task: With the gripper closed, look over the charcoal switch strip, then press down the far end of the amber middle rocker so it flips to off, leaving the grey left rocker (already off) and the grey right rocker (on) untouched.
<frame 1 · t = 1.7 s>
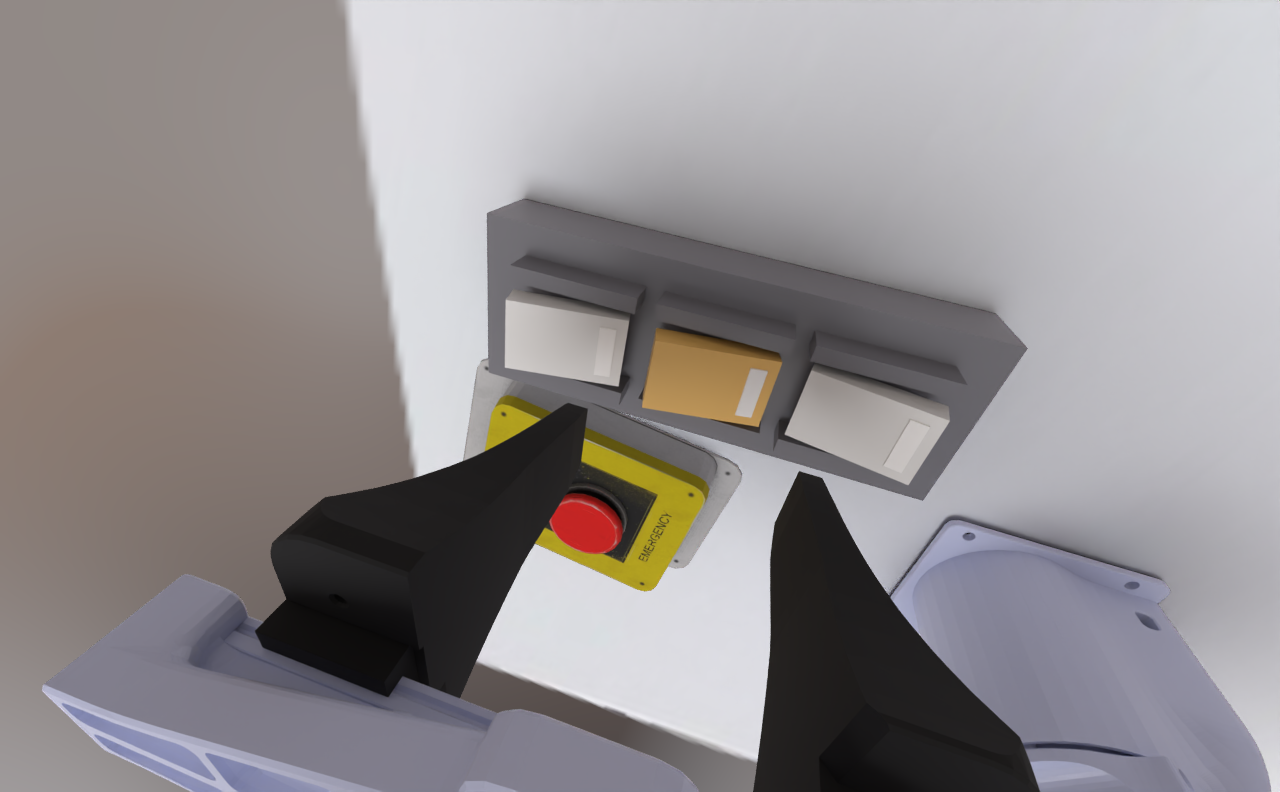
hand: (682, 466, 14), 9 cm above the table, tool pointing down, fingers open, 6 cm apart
switch strip: (722, 331, 21), on the table
emergency button: (594, 463, 28), on the table
rocker amber: (708, 379, 18), point 4 cm above the table, hinge at -12.0°
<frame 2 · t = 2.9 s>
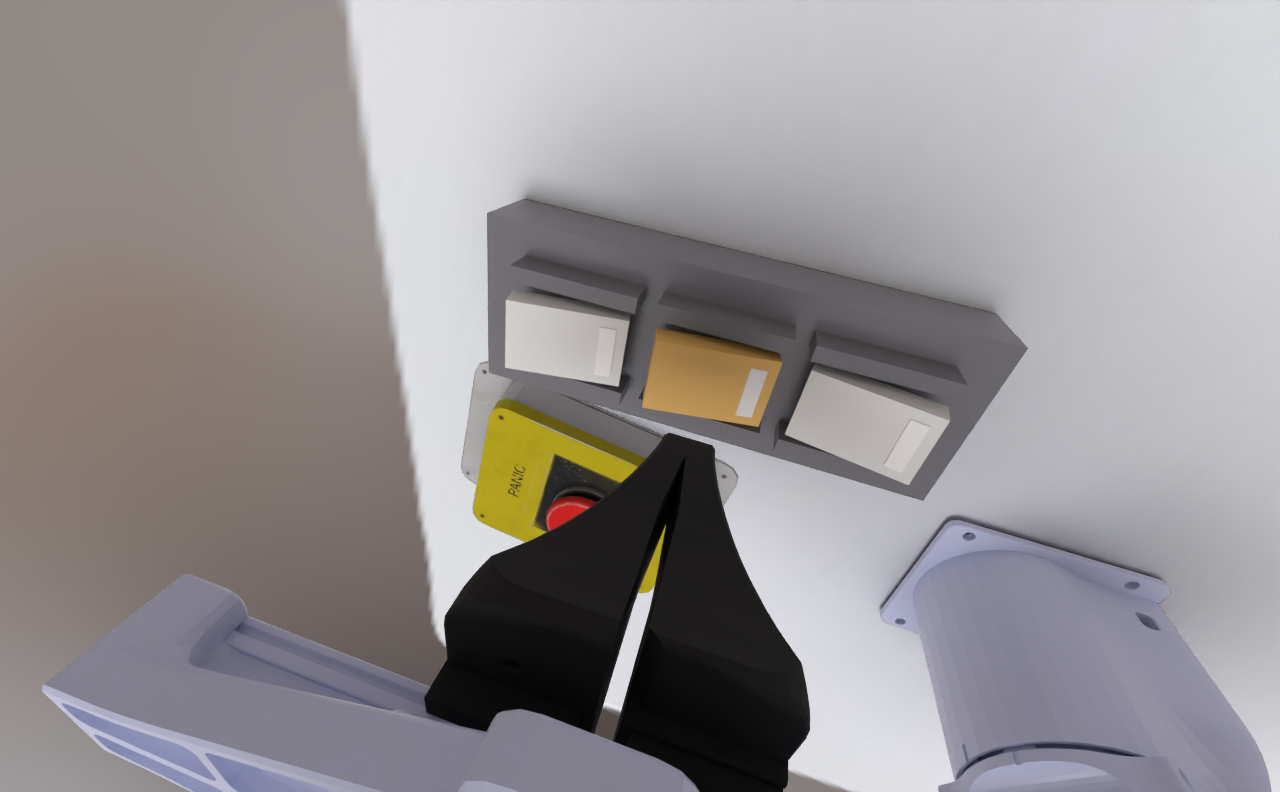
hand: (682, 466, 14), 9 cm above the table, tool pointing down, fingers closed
switch strip: (722, 331, 21), on the table
emergency button: (592, 465, 28), on the table
rocker amber: (708, 379, 18), point 4 cm above the table, hinge at -12.0°
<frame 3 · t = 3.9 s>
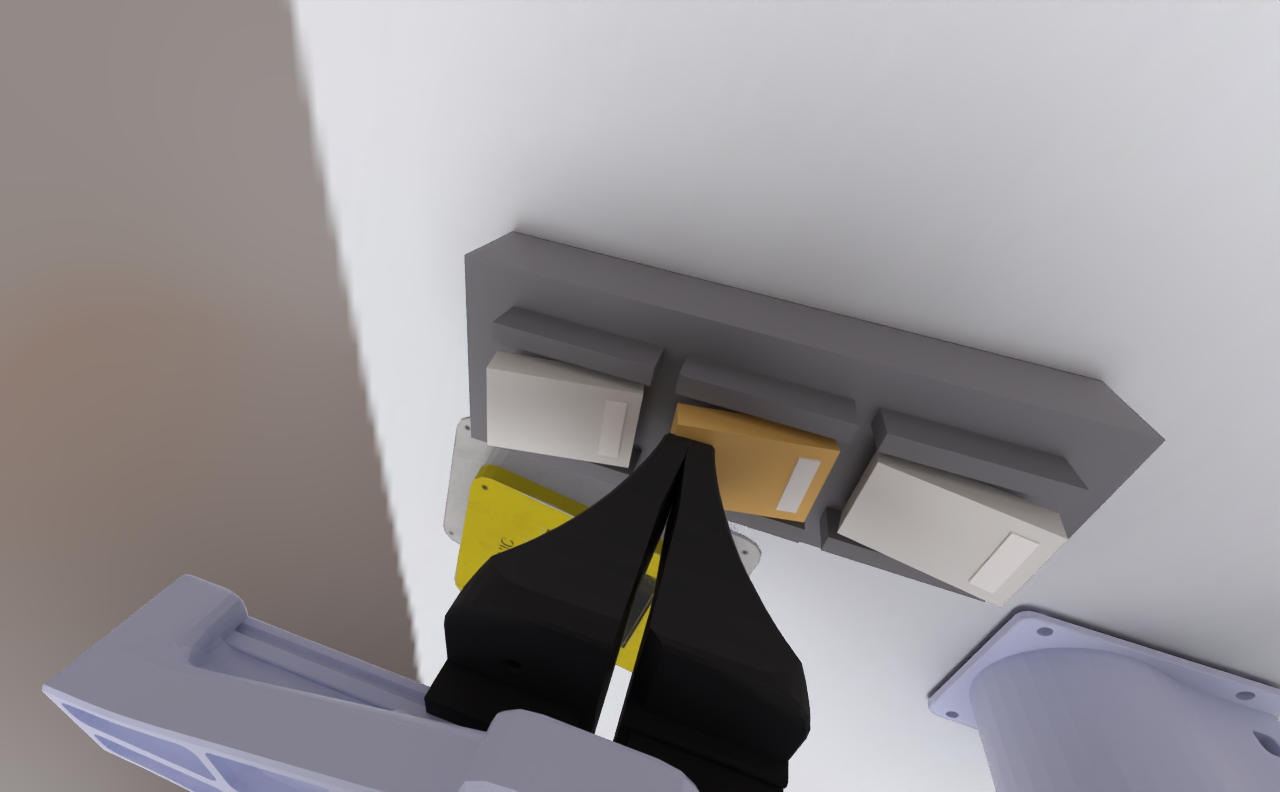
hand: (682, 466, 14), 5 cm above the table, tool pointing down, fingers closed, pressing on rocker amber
switch strip: (752, 390, 18), on the table
emergency button: (591, 529, 25), on the table
rocker amber: (742, 465, 14), point 4 cm above the table, hinge at -12.0°, touching gripper
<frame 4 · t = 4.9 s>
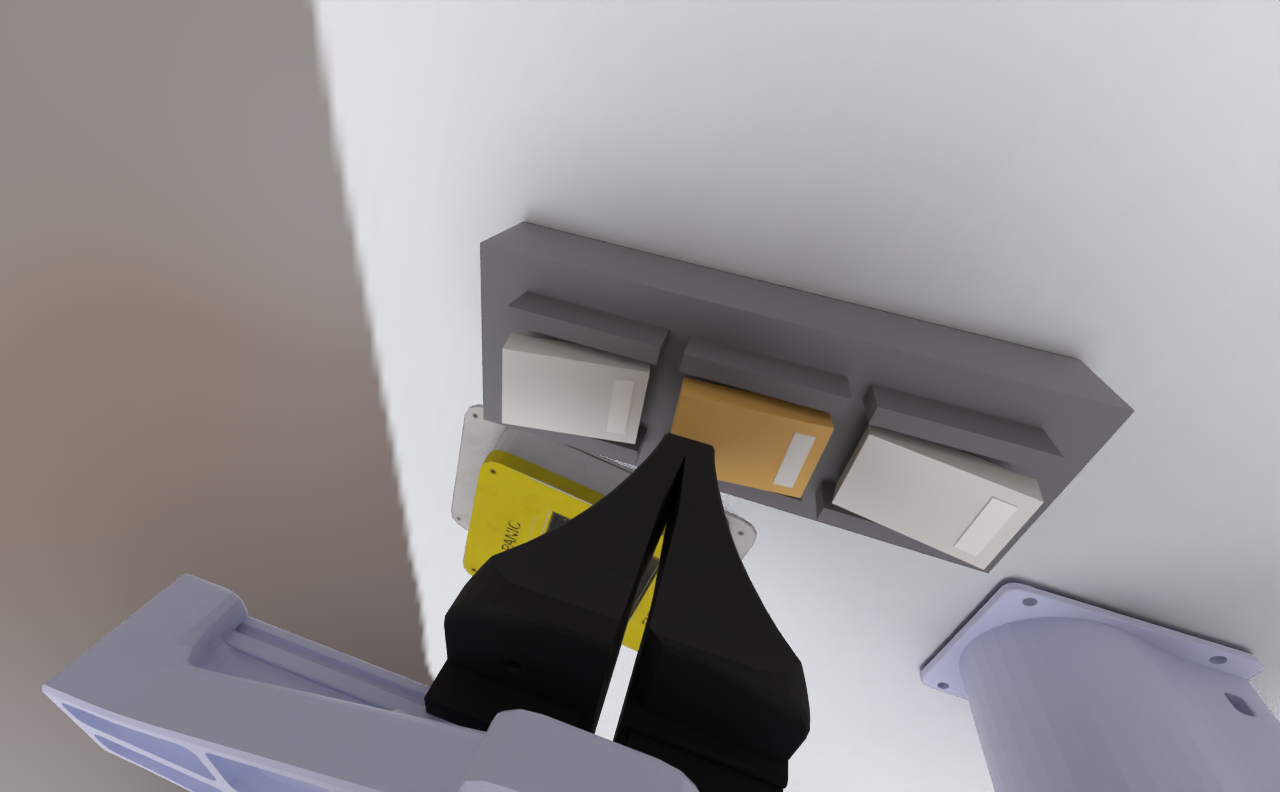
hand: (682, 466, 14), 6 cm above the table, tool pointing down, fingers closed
switch strip: (752, 372, 19), on the table
emergency button: (594, 514, 26), on the table
rocker amber: (743, 439, 15), point 4 cm above the table, hinge at -6.7°
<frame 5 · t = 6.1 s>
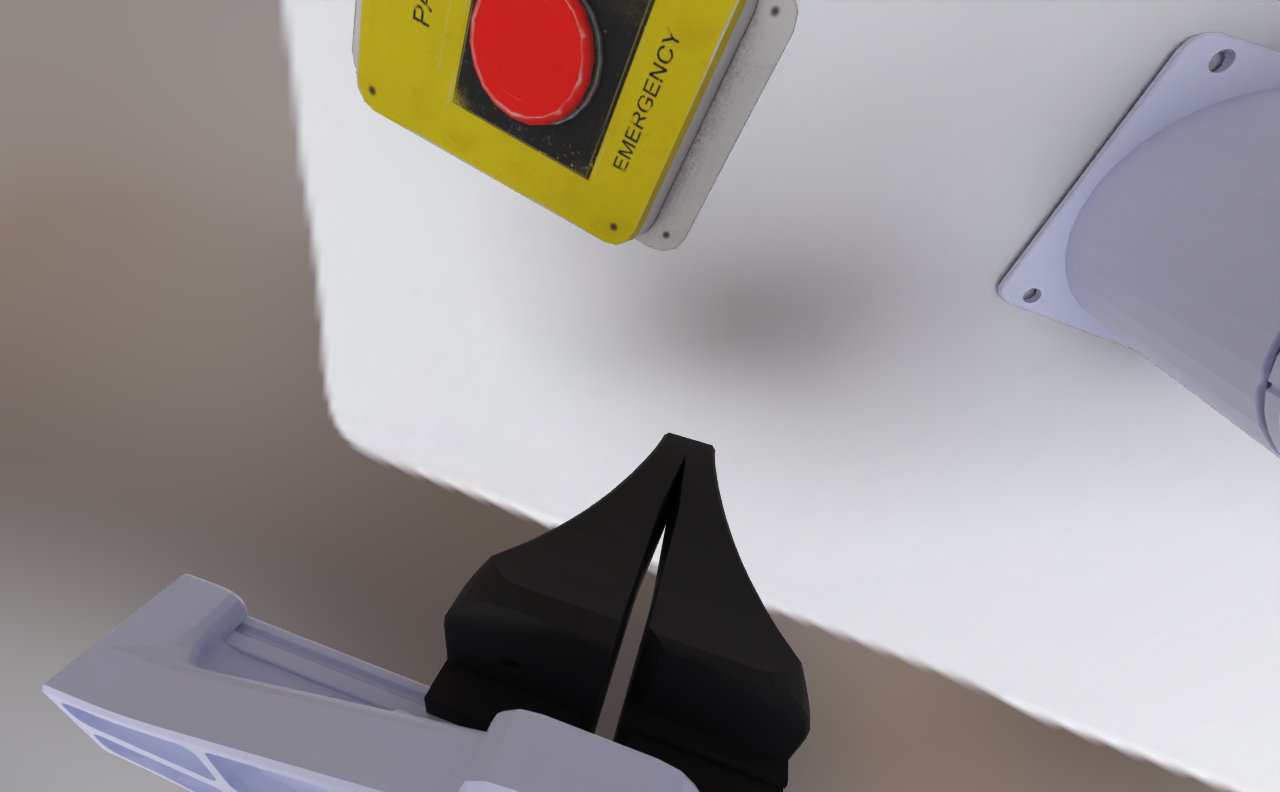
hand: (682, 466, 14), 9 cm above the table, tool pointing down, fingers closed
emergency button: (558, 43, 18), on the table
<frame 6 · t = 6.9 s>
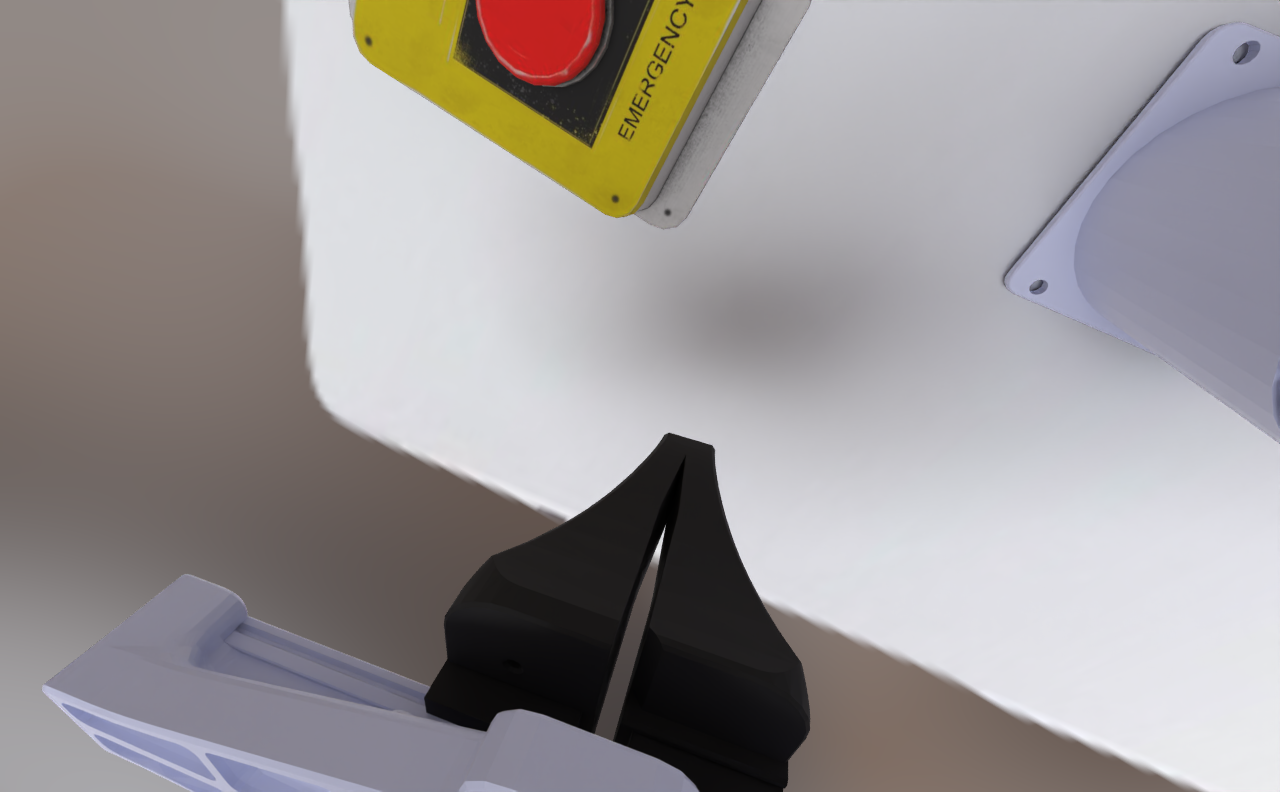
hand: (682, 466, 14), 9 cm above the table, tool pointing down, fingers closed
emergency button: (565, 6, 17), on the table
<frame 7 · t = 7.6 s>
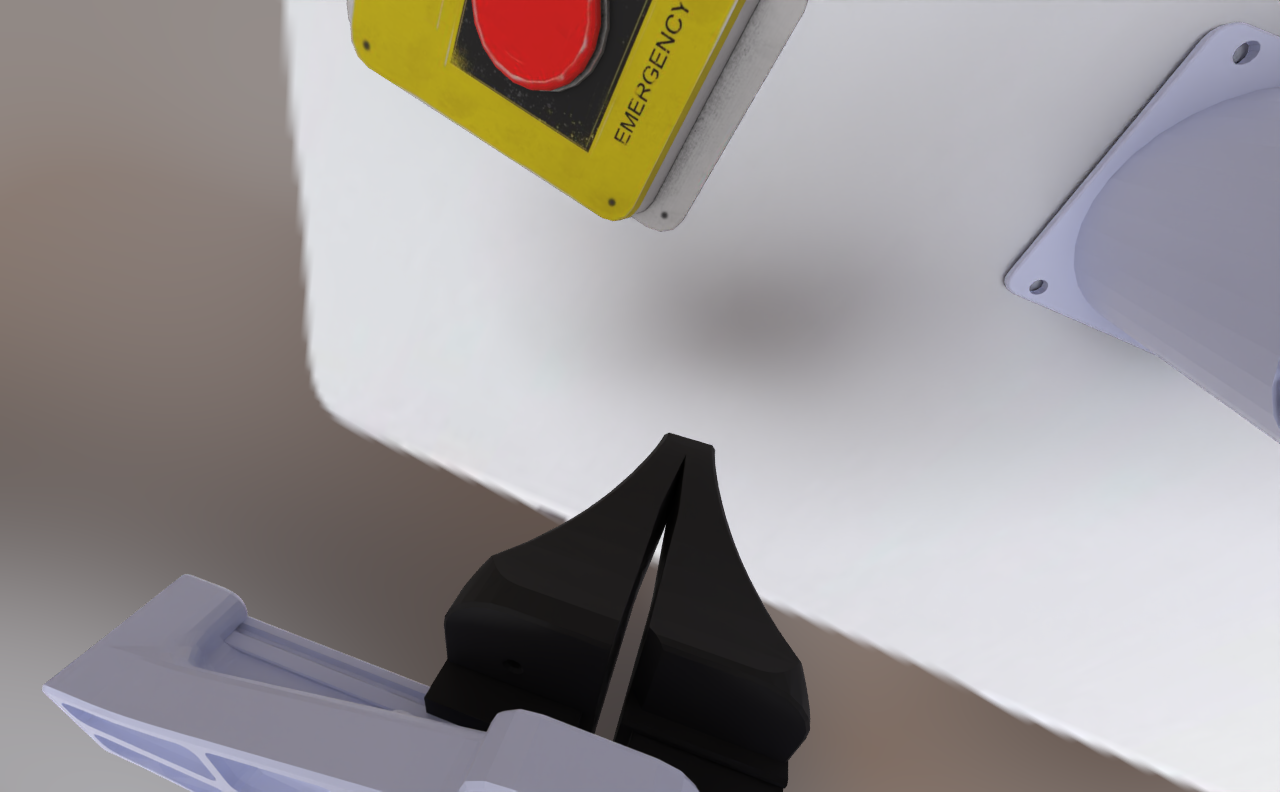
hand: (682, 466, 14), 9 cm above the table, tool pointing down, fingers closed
emergency button: (562, 9, 18), on the table
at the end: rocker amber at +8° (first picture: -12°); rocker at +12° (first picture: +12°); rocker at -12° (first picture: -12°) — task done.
